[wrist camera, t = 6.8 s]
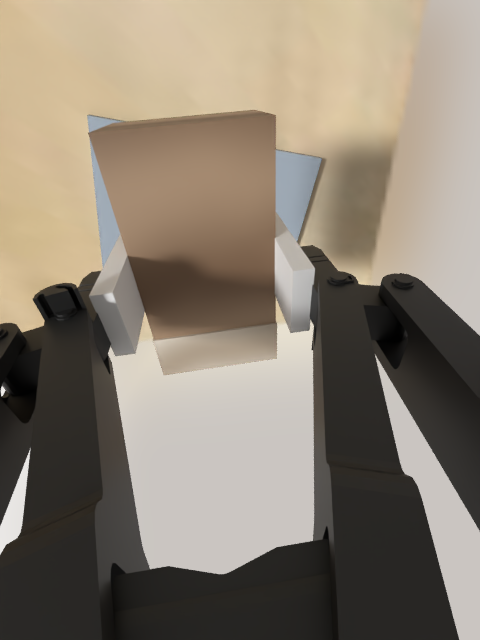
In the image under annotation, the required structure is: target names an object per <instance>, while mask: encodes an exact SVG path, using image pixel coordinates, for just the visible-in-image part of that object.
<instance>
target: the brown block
mask: <svg viewBox="0 0 480 640" xmlns="http://www.w3.org/2000/svg"><path fill="white" fill-rule="evenodd" d="M88 134H89V137H90V140H91V143H92V147H93V150H94V153H95V156H96V159H97V162H98V165H99V169H100V172H101V175H102V178H103V181H104V184H105V187H106V190H107V194H108V197H109V200H110V203H111V206H112V209H113V212H114V216H115V219H116V222H117V225H118V228H119V231H120V234H121V237H122V241H123V244H124V247H125V250H126V253H127V256H128V259H129V262H130V266H131V269H132V272H133V275H134V278H135V281H136V284H137V288H138V291H139V294H140V297H141V300H142V303H143V306H144V309H145V313H146V316H147V319H148V322H149V325H150V328H151V331H152V335H153V343H154V346H155V349H156V352H157V355H158V358H159V361H160V365H161V368H162V371H163V374H164V375H169V374H175V373H182V372H189V371H195V370H203V369H209V368H216V367H223V366H230V365H236V364H243V363H250V362H256V361H263V360H270V359H276V358H277V323H276V296H275V238H276V115H273V114H269V113H265V112H261V111H257V110H248V111H237V112H226V113H216V114H205V115H194V116H183V117H173V118H162V119H151V120H140V121H130V122H119V123H112V124H109V125H107V126H104V127H102V128H99V129H97V130H94V131H92V132H89V133H88Z"/></svg>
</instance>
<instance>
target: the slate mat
mask: <svg viewBox="0 0 480 640" xmlns="http://www.w3.org/2000/svg"><path fill="white" fill-rule="evenodd" d="M87 116H88V126H89V132H92V131H94V130H97V129H99V128H102V127H104V126H107V125H109V124H112V123H119V122H126V121H120V120H115V119H110V118H104V117H99V116H93V115H87ZM90 146H91V156H92V166H93V175H94V185H95V195H96V205H97V215H98V224H99V234H100V244H101V254H102V264H103V267H104V265H105V263H106V261H107V259H108V257H109V255H110V253H111V251H112V249H113V247H114V245H115V243H116V241H117V239H118V237H119V235H120V231H119V228H118V225H117V222H116V219H115V216H114V212H113V209H112V206H111V203H110V200H109V197H108V194H107V190H106V187H105V184H104V181H103V178H102V175H101V172H100V169H99V165H98V162H97V159H96V156H95V153H94V150H93V147H92V143H91V140H90ZM321 160H322V158H320V157H315V156H309V155H304V154H298V153H293V152H288V151H282V150H277V149H276V212H277V214H278V215H279V217H280V218H281V220H282V221H283V223H284V224H285V225H286V227H287V228H288V230H289V231H290V233H291V234H292V236H293V237H294V239H295V240H296V241H297V240H298V237H299V234H300V230H301V227H302V224H303V220H304V217H305V214H306V210H307V207H308V204H309V200H310V197H311V194H312V190H313V187H314V184H315V180H316V177H317V174H318V170H319V167H320V164H321Z"/></svg>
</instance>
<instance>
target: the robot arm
mask: <svg viewBox="0 0 480 640" xmlns="http://www.w3.org/2000/svg"><path fill="white" fill-rule="evenodd" d="M79 286H80V287H78V288H77V286H76V285H74V284H72V283H62V284H56V285H53V286H50V287H47V288H45V289H43V290H41V291H40V292H39V293H37V294H36V295H35V296H34V298H33V301H34V303H35V304H36V306H37V308H38V309H39V311H40V313H41V315H42V316H43V318H44V320H45V322H44V326H42V327H39V328H36V329H33V330H29V331H26V332H23V333H22V332H21V331H20V329H19V328H18V326H17V325H16V324H13V323H3V324H0V390H1V386H3V387H4V389H5V390H6V391H5V393H4V395H3V396H2V397H1V391H0V525H1V523H2V520H3V517H4V515H5V512H6V510H7V507H8V504H9V502H10V499H11V497H12V494H13V491H14V489H15V486H16V484H17V481H18V479H19V476H20V473H21V471H22V468H23V466H24V463H25V460H26V458H27V455H28V453H29V450H30V447H31V451H30V460H29V469H28V478H27V487H26V496H25V506H24V515H23V524H22V529H21V533H20V535H19V536H18V538H17V539H15V540H13V541H12V542H10V543H9V544H7V545H6V546H5V548H4V549H3V551H2V553H1V555H0V640H459V637H458V634H457V630H456V626H455V622H454V619H453V615H452V611H451V607H450V603H449V600H448V596H447V592H446V588H445V585H444V581H443V577H442V573H441V569H440V566H439V562H438V558H437V554H436V551H435V547H434V543H433V539H432V535H431V532H430V528H429V524H428V520H427V517H426V513H425V509H424V505H423V501H422V498H421V495H420V492H419V489H418V486H417V484H416V483H415V481H414V480H413V478H412V477H410V476H408V475H405V474H404V472H403V470H402V468H401V465H400V461H399V457H398V452H397V448H396V444H395V440H394V435H393V431H392V427H391V423H390V418H389V414H388V410H387V405H386V401H385V396H384V392H383V388H382V384H381V379H380V375H379V371H378V366H377V362H376V358H375V355H376V356H377V358H378V360H379V361H380V363H381V365H382V366H383V368H384V370H385V371H386V373H387V375H388V377H389V378H390V380H391V382H392V383H393V385H394V387H395V388H396V390H397V392H398V393H399V395H400V397H401V398H402V400H403V402H404V404H405V405H406V407H407V409H408V410H409V412H410V414H411V415H412V417H413V419H414V420H415V422H416V424H417V425H418V427H419V429H420V431H421V432H422V434H423V436H424V437H425V439H426V441H427V442H428V444H429V446H430V447H431V449H432V451H433V453H434V454H435V456H436V458H437V459H438V461H439V463H440V464H441V466H442V468H443V469H444V471H445V473H446V474H447V476H448V477H449V480H450V481H451V483H452V485H453V486H454V488H455V490H456V491H457V493H458V495H459V497H460V498H461V500H462V501H463V503H464V505H465V507H466V508H467V510H468V512H469V513H470V515H471V517H472V519H473V520H474V522H475V523H476V525H477V527H478V528H479V530H480V336H479V335H478V334H477V333H476V332H475V331H474V330H473V329H472V328H471V327H470V326H469V325H467V323H465V322H464V321H463V320H462V319H461V318H460V317H459V316H458V315H457V314H456V313H455V312H454V311H453V310H452V309H451V308H450V307H449V306H447V305H446V304H445V303H444V302H443V301H442V300H441V299H440V298H439V297H438V296H437V295H436V294H435V293H434V292H433V291H432V290H430V289H429V288H428V287H427V286H426V285H425V284H424V283H423V282H422V281H421V280H419V279H418V278H416V277H413V276H411V275H408V274H402V273H400V274H390V275H387V276H385V277H383V279H382V282H381V285H380V286H371V285H360V284H358V281H357V279H356V277H354V276H353V275H351V274H349V273H346V272H340V271H338V270H337V269H336V268H335V267H334V265H333V264H332V263H331V262H330V261H329V259H328V258H327V257H326V256H325V254H324V253H323V252H322V250H321V249H319V248H317V247H315V246H313V245H311V246H303V247H300V246H299V244H298V243H297V241H296V240H295V239H294V237H293V236H292V234H291V233H290V231H289V230H288V228H287V227H286V225H285V224H284V223H283V221H282V220H281V218H280V217H279V215H278V214H277V212H276V238H275V296H276V298H277V301H278V303H279V306H280V308H281V311H282V313H283V315H284V318H285V320H286V323H287V325H288V328H289V330H290V332H291V333H293V332H301V331H308V330H309V329H310V319H311V321H312V323H313V324H314V332H313V341H312V350H313V384H314V385H313V386H314V534H313V541H310V542H305V543H299V544H294V545H287V546H282V547H276V548H275V549H273V550H271V551H269V552H267V553H265V554H263V555H262V556H260V557H258V558H256V559H254V560H252V561H250V562H248V563H246V564H245V565H243V566H241V567H239V568H237V569H235V570H233V571H231V572H229V573H227V574H213V573H207V572H200V571H195V570H188V569H182V568H176V567H170V566H167V567H161V568H156V569H150V568H149V565H148V563H147V560H146V557H145V554H144V551H143V547H142V542H141V537H140V531H139V525H138V519H137V514H136V507H135V501H134V495H133V489H132V482H131V477H130V470H129V464H128V459H127V452H126V446H125V440H124V434H123V428H122V422H121V416H120V410H119V404H118V398H117V392H116V386H115V380H114V374H113V368H112V362H111V360H110V358H109V356H108V352H109V348H110V345H111V348H112V350H113V352H114V354H115V356H121V355H128V354H135V353H136V349H137V344H138V340H139V335H140V330H141V326H142V321H143V317H144V312H145V309H144V306H143V303H142V300H141V297H140V294H139V291H138V288H137V284H136V281H135V278H134V275H133V272H132V269H131V266H130V262H129V259H128V256H127V253H126V250H125V247H124V244H123V241H122V237H121V234H120V235H119V237H118V239H117V241H116V243H115V245H114V247H113V249H112V251H111V253H110V255H109V257H108V259H107V261H106V263H105V265H104V267H103V269H102V271H97V272H91V273H90V274H89V275H87V276H86V277H85V278H83V280H82V282H81V283H80V285H79Z"/></svg>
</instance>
